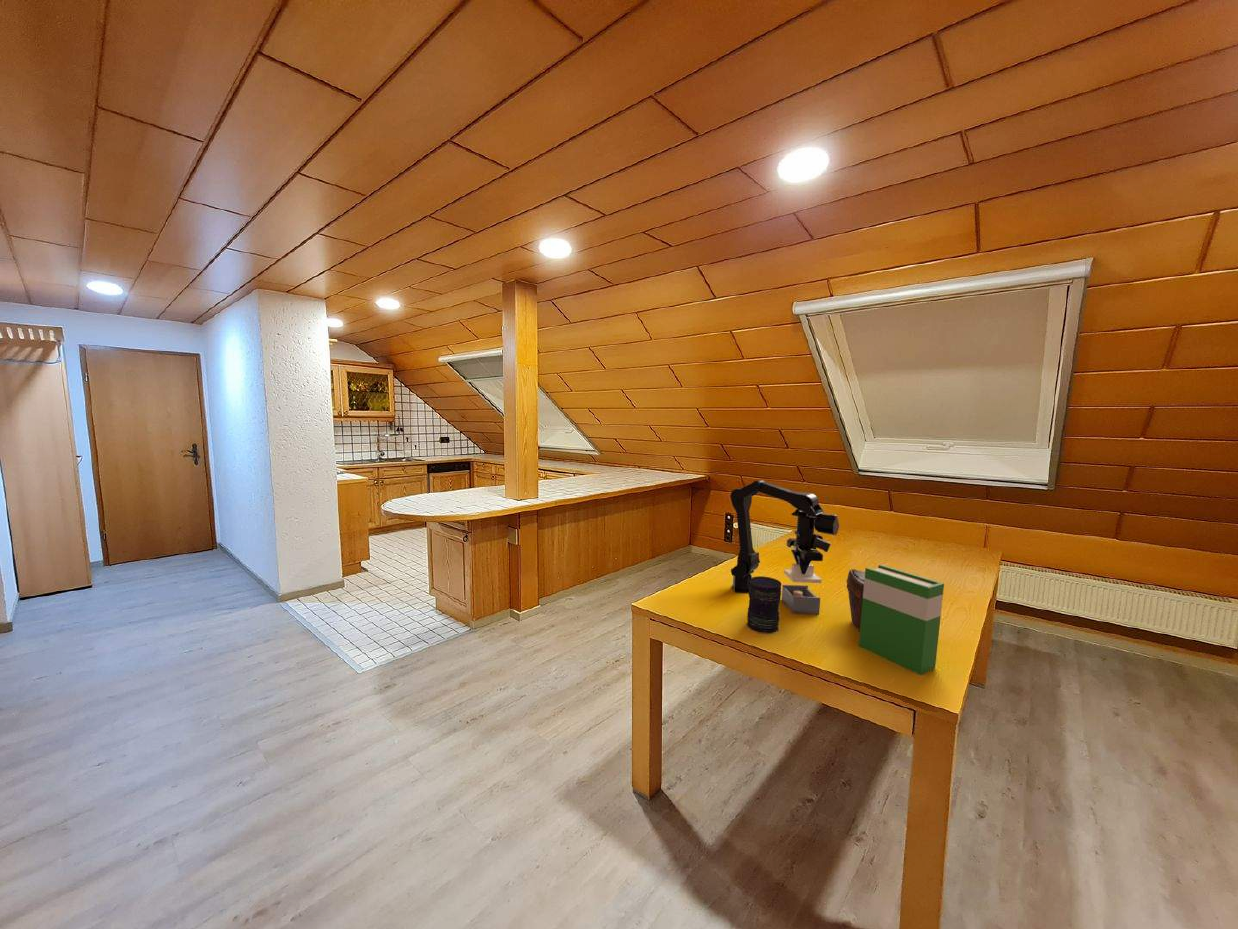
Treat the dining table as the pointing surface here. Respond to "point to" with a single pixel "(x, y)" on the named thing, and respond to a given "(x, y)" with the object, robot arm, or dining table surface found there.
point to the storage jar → (764, 604)
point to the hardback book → (901, 617)
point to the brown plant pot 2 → (856, 595)
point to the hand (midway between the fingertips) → (802, 573)
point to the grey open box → (800, 599)
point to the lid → (799, 577)
